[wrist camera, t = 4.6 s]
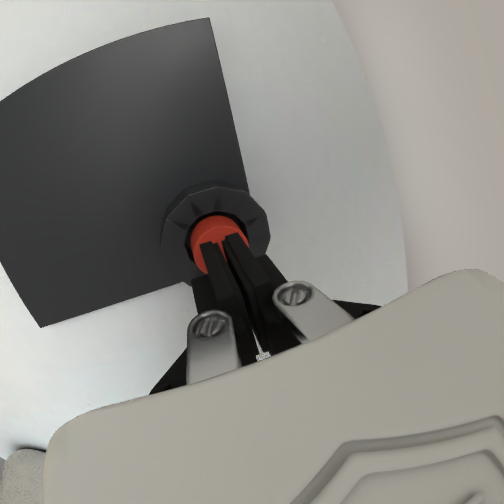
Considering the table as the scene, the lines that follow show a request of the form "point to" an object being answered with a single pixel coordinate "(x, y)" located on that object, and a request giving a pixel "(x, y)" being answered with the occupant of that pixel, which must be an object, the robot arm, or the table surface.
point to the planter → (22, 477)
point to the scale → (119, 172)
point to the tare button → (212, 235)
